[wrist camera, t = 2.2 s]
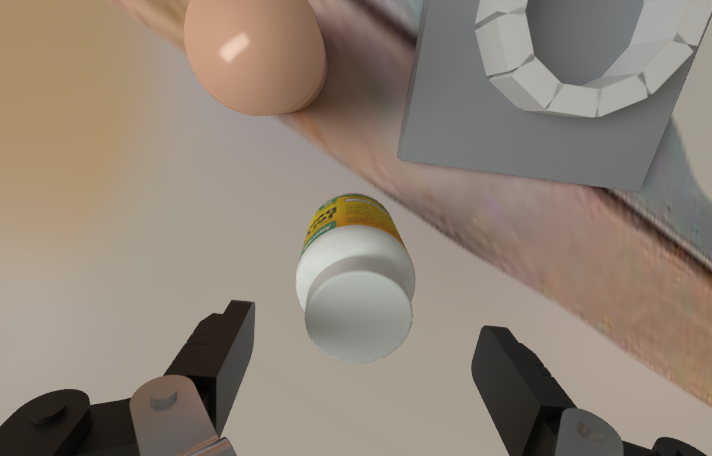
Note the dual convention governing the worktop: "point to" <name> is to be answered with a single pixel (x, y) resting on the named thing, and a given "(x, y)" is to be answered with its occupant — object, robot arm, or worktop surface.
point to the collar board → (525, 138)
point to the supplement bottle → (355, 280)
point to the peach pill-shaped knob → (256, 53)
